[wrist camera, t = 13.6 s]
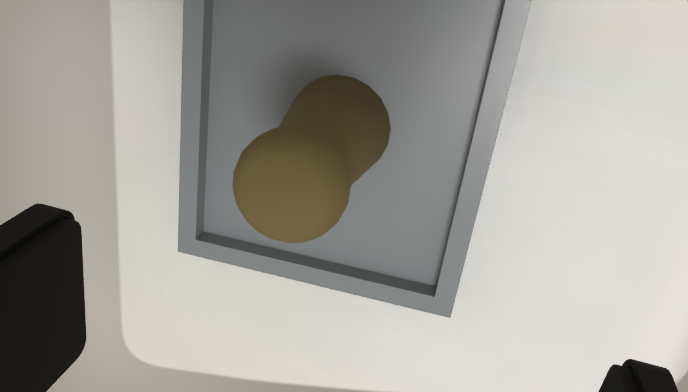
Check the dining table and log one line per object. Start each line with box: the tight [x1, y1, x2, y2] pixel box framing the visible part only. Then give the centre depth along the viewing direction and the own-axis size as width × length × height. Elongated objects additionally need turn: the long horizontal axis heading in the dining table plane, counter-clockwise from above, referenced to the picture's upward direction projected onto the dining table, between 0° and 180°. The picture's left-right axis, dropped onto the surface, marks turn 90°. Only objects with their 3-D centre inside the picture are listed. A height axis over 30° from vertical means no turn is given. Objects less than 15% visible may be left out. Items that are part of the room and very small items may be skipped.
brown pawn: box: [232, 75, 391, 243], centre depth 30 cm, size 6×6×11 cm
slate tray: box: [178, 0, 532, 318], centre depth 35 cm, size 20×18×2 cm
